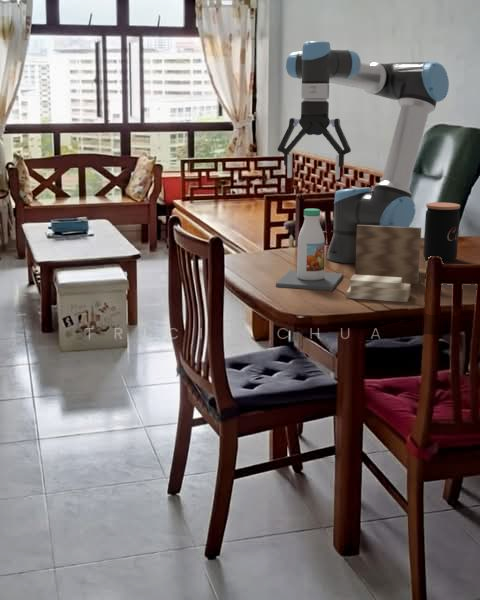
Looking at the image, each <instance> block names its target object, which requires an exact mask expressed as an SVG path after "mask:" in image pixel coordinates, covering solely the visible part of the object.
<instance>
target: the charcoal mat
mask: <svg viewBox="0 0 480 600" xmlns="http://www.w3.org/2000/svg"><path fill="white" fill-rule="evenodd" d="M343 278H344V273H339V272H325V271H324V277H323V279H321V280H315V281H309V280H301V279H299V278H298V277H297V270H294V269H290V270H289V271H288V272H286V273H285V274H284V275H283V276H282V277H281V278H280V279H279V280H278V281H276V282H275V287H276V288H288V289H289V288H290V289H303V290H305V289H306V290H317V291H318V290H319V291H331V292H332V291H333V290H334V289H335V288H336V287H337V285H338V284H339V282H340V281H341V280H342V279H343Z"/></svg>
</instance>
